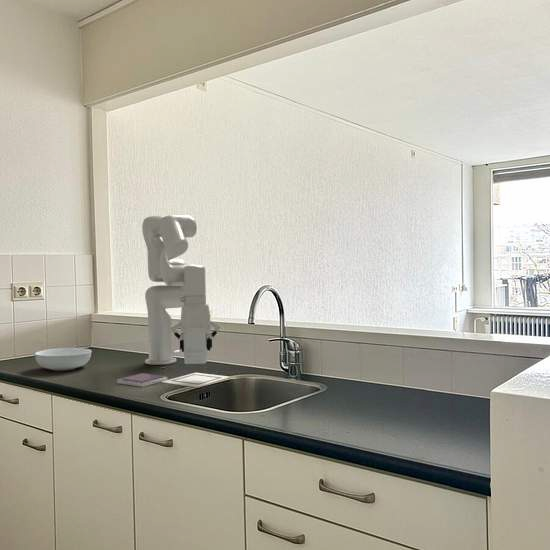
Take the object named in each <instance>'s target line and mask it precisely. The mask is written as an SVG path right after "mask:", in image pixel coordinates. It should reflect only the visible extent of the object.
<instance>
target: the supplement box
mask: <svg viewBox="0 0 550 550" xmlns="http://www.w3.org/2000/svg"><path fill="white" fill-rule="evenodd" d="M207 339H208V336H207V334H206V333H205V327H191V328H187V333H186V334H184V338H183V340H184V352H183V357H184V358H183V360H184V364H185V365H191V364H193V365H194V364H195V365H197V364H206V363H207V362H208V361H209V350H208V349H207Z"/></svg>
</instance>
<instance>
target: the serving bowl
mask: <svg viewBox="0 0 550 550" xmlns="http://www.w3.org/2000/svg"><path fill="white" fill-rule="evenodd" d="M91 356H92V349H89V348H84V347H62V348H59V347H58V348H49V349H44V350H39V351H36V352H35V353H34V357H35V361H36V363H37V364H38V365H39V366H40V367H41V368H44V369H47V370H50V371H51V370H52V371H55V372H61V371H62V372H63V371H64V372H65V371H71V370H75V369H77V368H80V367H82V366H84V365H86V364H87V363H88V362H90V359H91Z"/></svg>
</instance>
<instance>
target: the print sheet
mask: <svg viewBox="0 0 550 550" xmlns="http://www.w3.org/2000/svg"><path fill="white" fill-rule="evenodd" d="M230 378H231V376H227V375H219V374H218V375H217V374H212V373H211V374H210V373H209V374H208V373H202V372H201V373H200V372H193V373H189V374H186V375H181V376H178V377H174V378H171V379H167V380H166V381H163V382H160V383H162V384H168V385H169V384H170V385H175V386H176V385H177V386H182V387H183V386H184V387H188V388H190V387H191V388H196V389H197V388H200V387H204V386H207V385H210V384H213V383H218V382H220V381H224V380H226V379H227V380H228V379H230Z"/></svg>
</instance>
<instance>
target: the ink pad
mask: <svg viewBox="0 0 550 550" xmlns="http://www.w3.org/2000/svg"><path fill="white" fill-rule="evenodd" d="M166 380H168V376H165V375H160V374H159V375H158V374H152V373H151V374H150V373H137V374H134V375H130V376H126V377H121V378H119V379H116V383H117V384H119V385H128V386H134V387H139V388H144V387H147V386H151V385H155V384H158V383H161V382H163V381H166Z"/></svg>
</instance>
